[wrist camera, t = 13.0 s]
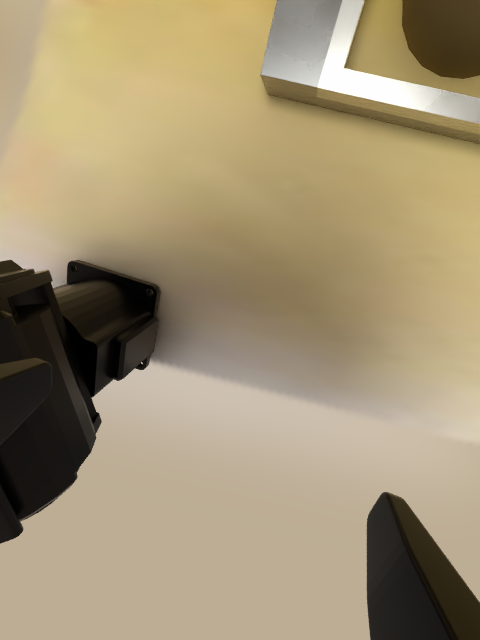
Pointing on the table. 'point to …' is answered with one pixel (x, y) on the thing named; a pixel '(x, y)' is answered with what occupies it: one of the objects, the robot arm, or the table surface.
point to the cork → (444, 35)
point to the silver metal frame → (352, 73)
